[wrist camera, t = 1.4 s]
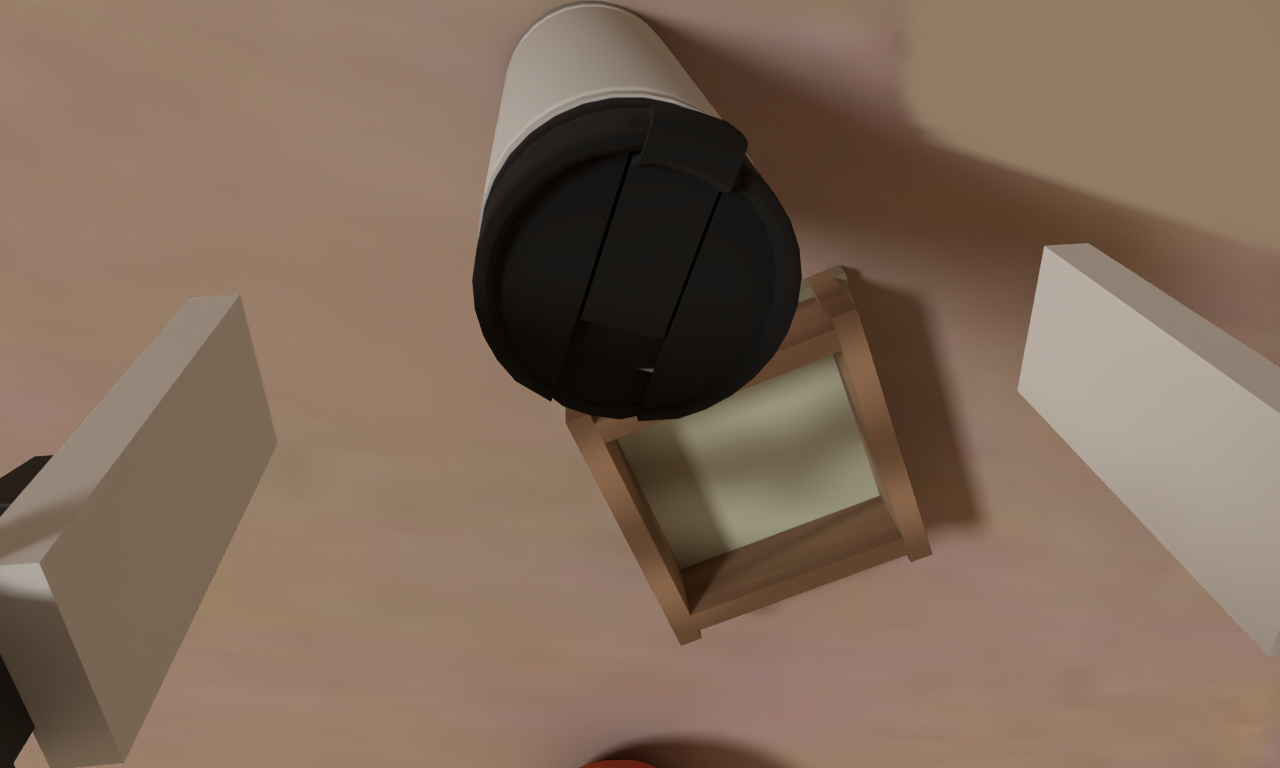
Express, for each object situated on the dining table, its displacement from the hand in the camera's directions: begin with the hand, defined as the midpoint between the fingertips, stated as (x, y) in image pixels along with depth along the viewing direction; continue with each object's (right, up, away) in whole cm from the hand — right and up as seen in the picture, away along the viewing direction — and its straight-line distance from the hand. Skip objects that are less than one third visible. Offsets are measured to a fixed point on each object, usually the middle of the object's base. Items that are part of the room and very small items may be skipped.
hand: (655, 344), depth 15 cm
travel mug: (-2, +10, +19) cm, 22 cm away
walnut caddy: (+4, -3, +27) cm, 27 cm away
